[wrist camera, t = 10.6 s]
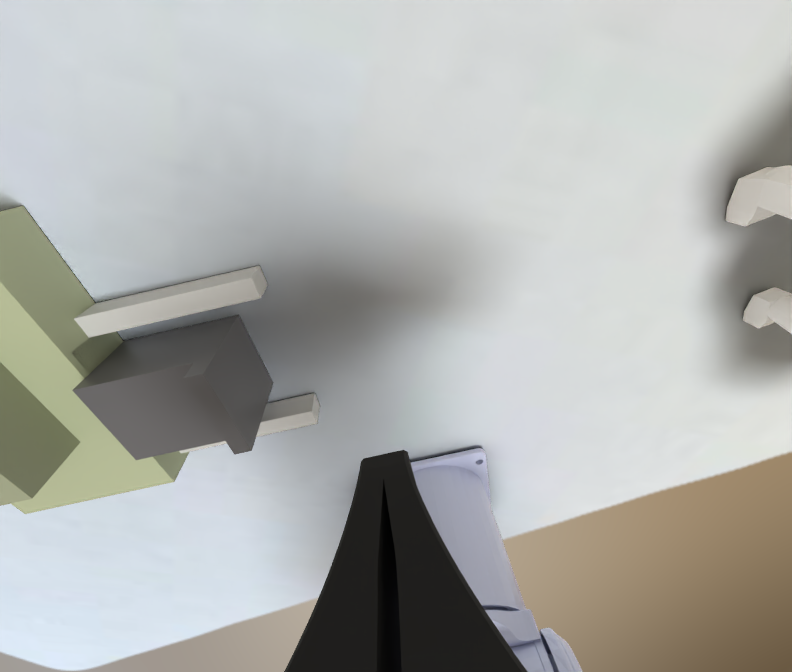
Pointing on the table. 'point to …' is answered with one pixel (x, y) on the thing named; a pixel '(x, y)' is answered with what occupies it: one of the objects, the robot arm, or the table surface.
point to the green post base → (86, 373)
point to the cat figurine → (753, 202)
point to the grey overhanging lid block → (181, 389)
